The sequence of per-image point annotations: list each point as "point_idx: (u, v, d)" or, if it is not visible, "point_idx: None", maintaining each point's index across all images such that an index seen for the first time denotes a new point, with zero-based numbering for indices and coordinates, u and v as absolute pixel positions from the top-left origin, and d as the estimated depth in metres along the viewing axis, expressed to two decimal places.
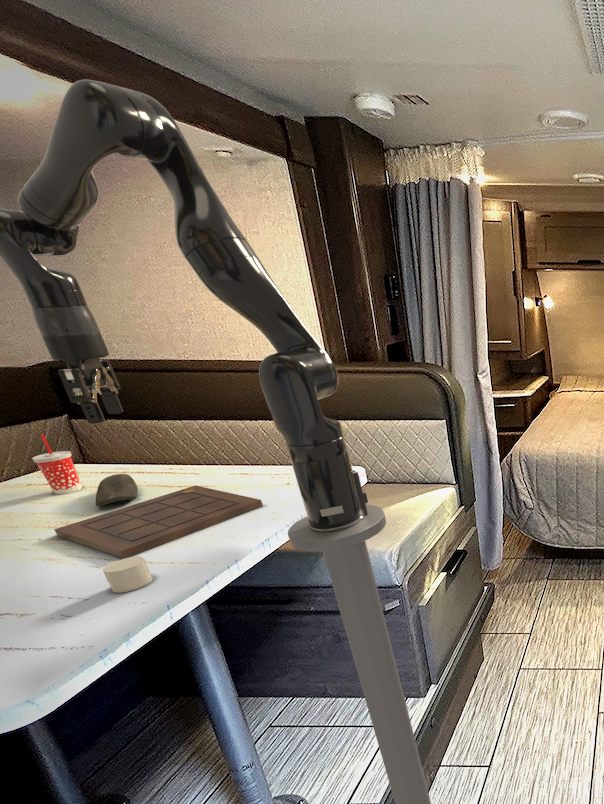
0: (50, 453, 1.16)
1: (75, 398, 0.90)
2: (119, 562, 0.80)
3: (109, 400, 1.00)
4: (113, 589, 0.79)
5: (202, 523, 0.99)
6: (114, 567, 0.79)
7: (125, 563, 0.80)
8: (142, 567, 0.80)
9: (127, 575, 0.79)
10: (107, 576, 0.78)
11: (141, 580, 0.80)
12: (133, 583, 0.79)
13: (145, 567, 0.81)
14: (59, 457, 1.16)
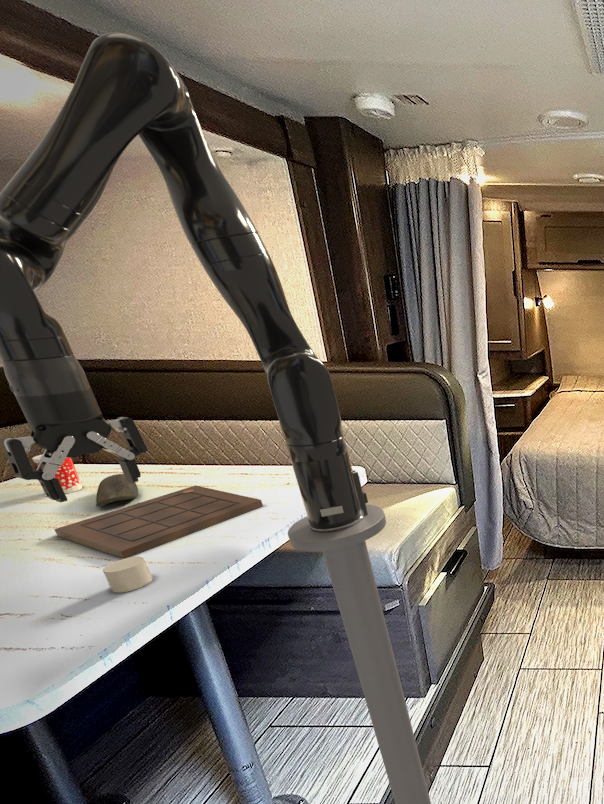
0: None
1: (17, 474, 0.71)
2: (119, 562, 0.80)
3: (123, 466, 0.81)
4: (113, 589, 0.79)
5: (202, 523, 0.99)
6: (114, 567, 0.79)
7: (125, 563, 0.80)
8: (142, 567, 0.80)
9: (127, 575, 0.79)
10: (107, 576, 0.78)
11: (141, 580, 0.80)
12: (133, 583, 0.79)
13: (145, 567, 0.81)
14: None
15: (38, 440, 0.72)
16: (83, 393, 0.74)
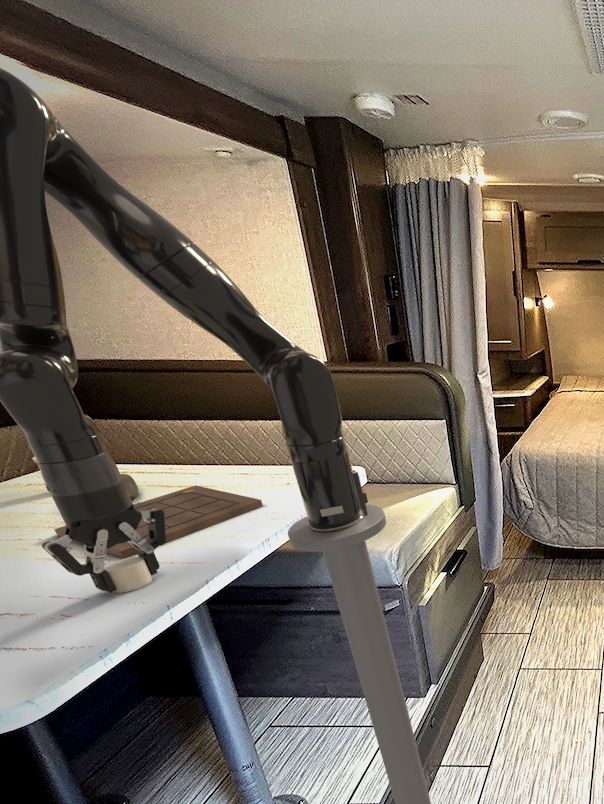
0: None
1: (70, 570, 0.74)
2: (119, 562, 0.80)
3: None
4: None
5: (202, 523, 0.99)
6: (114, 567, 0.79)
7: (125, 563, 0.80)
8: (142, 567, 0.80)
9: (127, 575, 0.79)
10: None
11: (141, 580, 0.80)
12: (133, 583, 0.79)
13: (145, 567, 0.81)
14: None
15: (73, 536, 0.73)
16: (116, 487, 0.75)
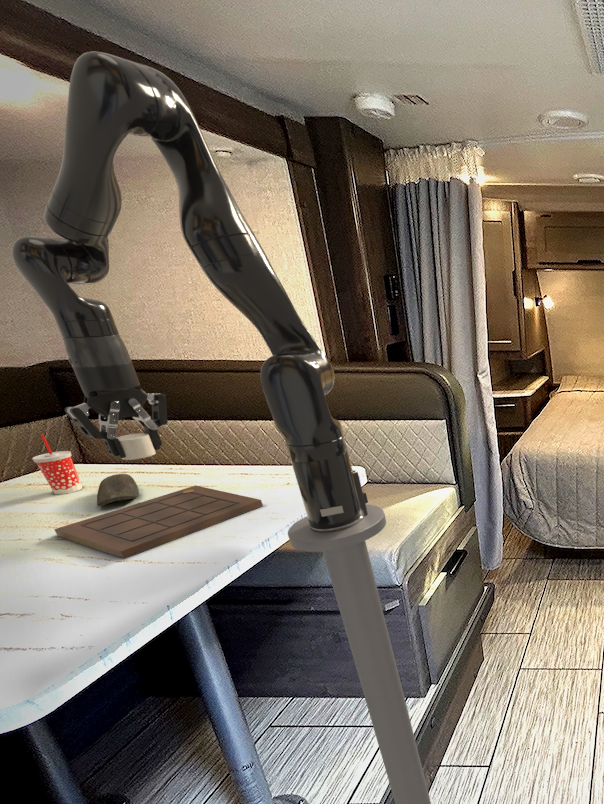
0: (50, 453, 1.16)
1: (87, 434, 0.88)
2: (127, 436, 0.94)
3: None
4: None
5: (202, 523, 0.99)
6: (123, 438, 0.93)
7: (133, 436, 0.94)
8: (147, 440, 0.94)
9: (135, 444, 0.93)
10: None
11: (146, 451, 0.94)
12: (140, 452, 0.93)
13: (150, 441, 0.95)
14: (59, 457, 1.16)
15: (91, 404, 0.87)
16: (127, 366, 0.90)
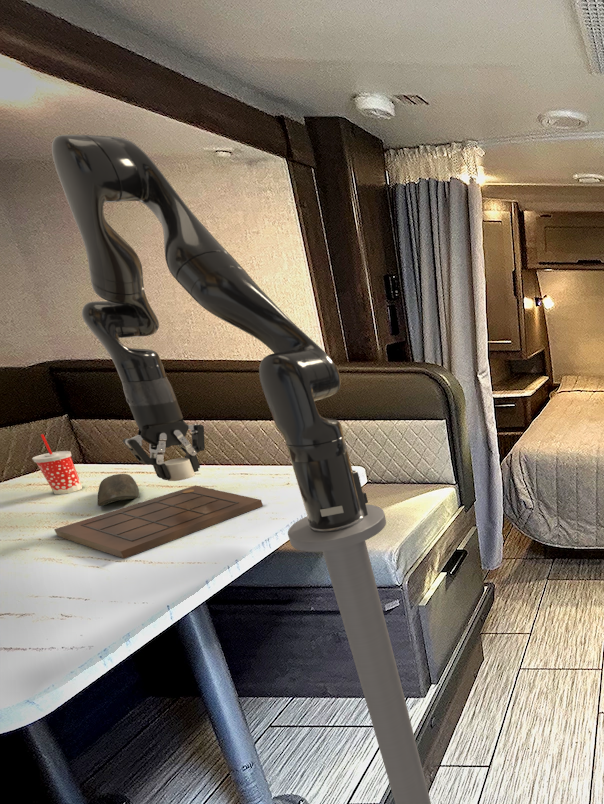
0: (50, 453, 1.16)
1: (140, 460, 1.06)
2: (172, 460, 1.12)
3: None
4: None
5: (202, 523, 0.99)
6: (169, 462, 1.10)
7: (176, 461, 1.11)
8: (188, 464, 1.12)
9: (178, 468, 1.10)
10: None
11: (188, 473, 1.12)
12: (182, 474, 1.11)
13: (190, 465, 1.12)
14: (59, 457, 1.16)
15: (144, 435, 1.05)
16: (173, 403, 1.07)
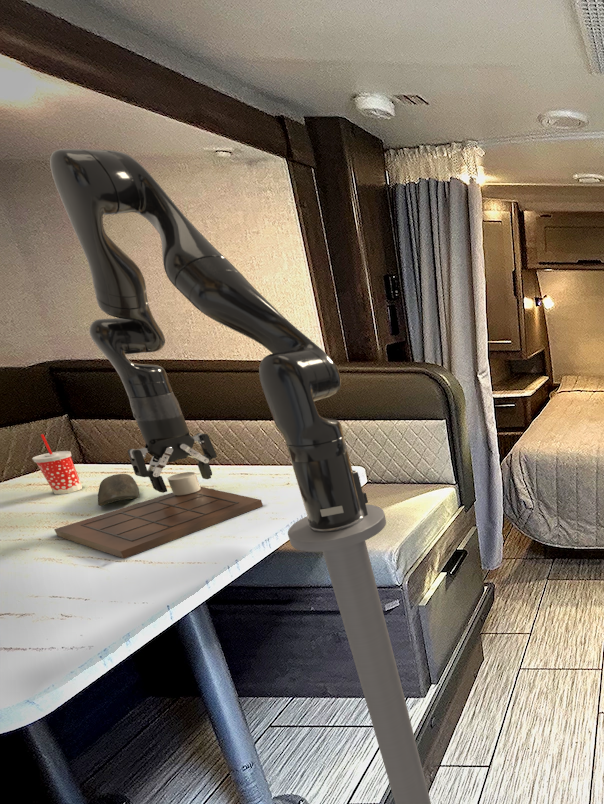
0: (50, 453, 1.16)
1: (137, 473, 1.06)
2: (178, 475, 1.13)
3: (201, 468, 1.16)
4: (174, 493, 1.12)
5: (202, 523, 0.99)
6: (175, 477, 1.12)
7: (182, 475, 1.13)
8: (194, 478, 1.13)
9: (184, 482, 1.11)
10: (171, 483, 1.11)
11: (193, 487, 1.13)
12: (188, 489, 1.12)
13: (196, 479, 1.14)
14: (59, 457, 1.16)
15: (150, 450, 1.06)
16: (179, 418, 1.08)
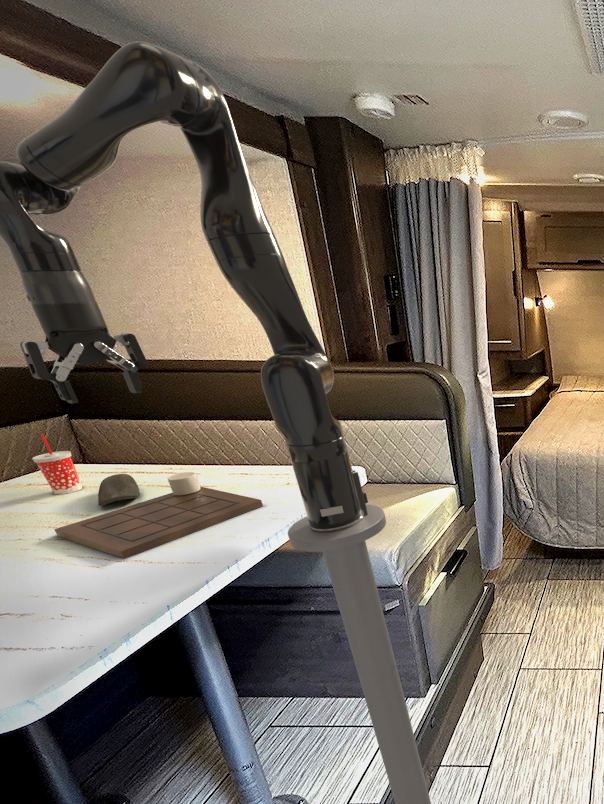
0: (50, 453, 1.16)
1: (34, 374, 0.81)
2: (178, 475, 1.13)
3: (127, 378, 0.91)
4: (174, 493, 1.12)
5: (202, 523, 0.99)
6: (175, 477, 1.12)
7: (182, 475, 1.13)
8: (194, 478, 1.13)
9: (184, 482, 1.11)
10: (171, 483, 1.11)
11: (193, 487, 1.13)
12: (188, 489, 1.12)
13: (196, 479, 1.14)
14: (59, 457, 1.16)
15: (52, 345, 0.82)
16: (90, 305, 0.84)
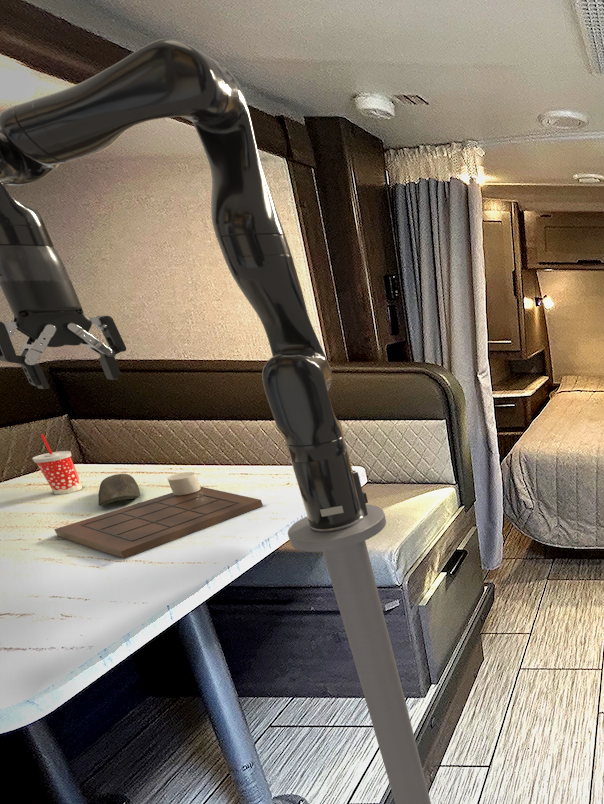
0: (50, 453, 1.16)
1: (1, 357, 0.75)
2: (178, 475, 1.13)
3: (103, 363, 0.85)
4: (174, 493, 1.12)
5: (202, 523, 0.99)
6: (175, 477, 1.12)
7: (182, 475, 1.13)
8: (194, 478, 1.13)
9: (184, 482, 1.11)
10: (171, 483, 1.11)
11: (193, 487, 1.13)
12: (188, 489, 1.12)
13: (196, 479, 1.14)
14: (59, 457, 1.16)
15: (21, 325, 0.76)
16: (64, 284, 0.78)
